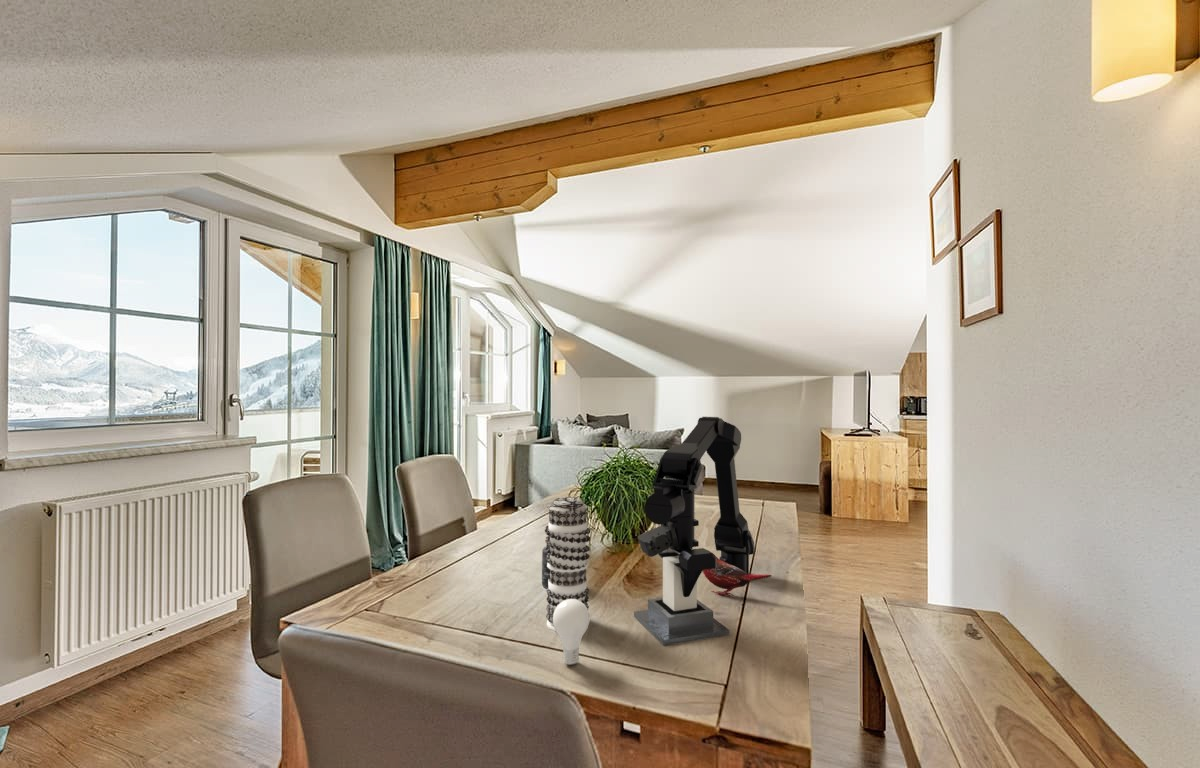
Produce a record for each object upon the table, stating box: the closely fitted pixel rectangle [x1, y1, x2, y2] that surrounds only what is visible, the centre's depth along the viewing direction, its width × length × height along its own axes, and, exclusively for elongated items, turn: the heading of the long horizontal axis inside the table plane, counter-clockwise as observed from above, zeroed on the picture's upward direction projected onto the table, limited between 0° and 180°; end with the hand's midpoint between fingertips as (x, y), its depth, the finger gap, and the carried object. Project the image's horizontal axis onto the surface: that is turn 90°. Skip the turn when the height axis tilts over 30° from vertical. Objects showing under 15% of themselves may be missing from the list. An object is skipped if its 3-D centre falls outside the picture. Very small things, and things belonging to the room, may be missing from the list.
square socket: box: [633, 597, 730, 646], centre depth 112 cm, size 14×14×4 cm
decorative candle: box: [544, 496, 592, 633], centre depth 113 cm, size 9×9×25 cm
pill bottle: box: [541, 542, 549, 589], centre depth 134 cm, size 6×6×11 cm
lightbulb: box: [553, 599, 591, 666], centre depth 96 cm, size 6×6×11 cm
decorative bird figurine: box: [702, 557, 772, 597], centre depth 127 cm, size 3×18×10 cm, turn 64°
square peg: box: [662, 556, 698, 611], centre depth 112 cm, size 5×5×9 cm
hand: (679, 591), depth 112 cm, fingers closed on square peg, 5 cm apart
